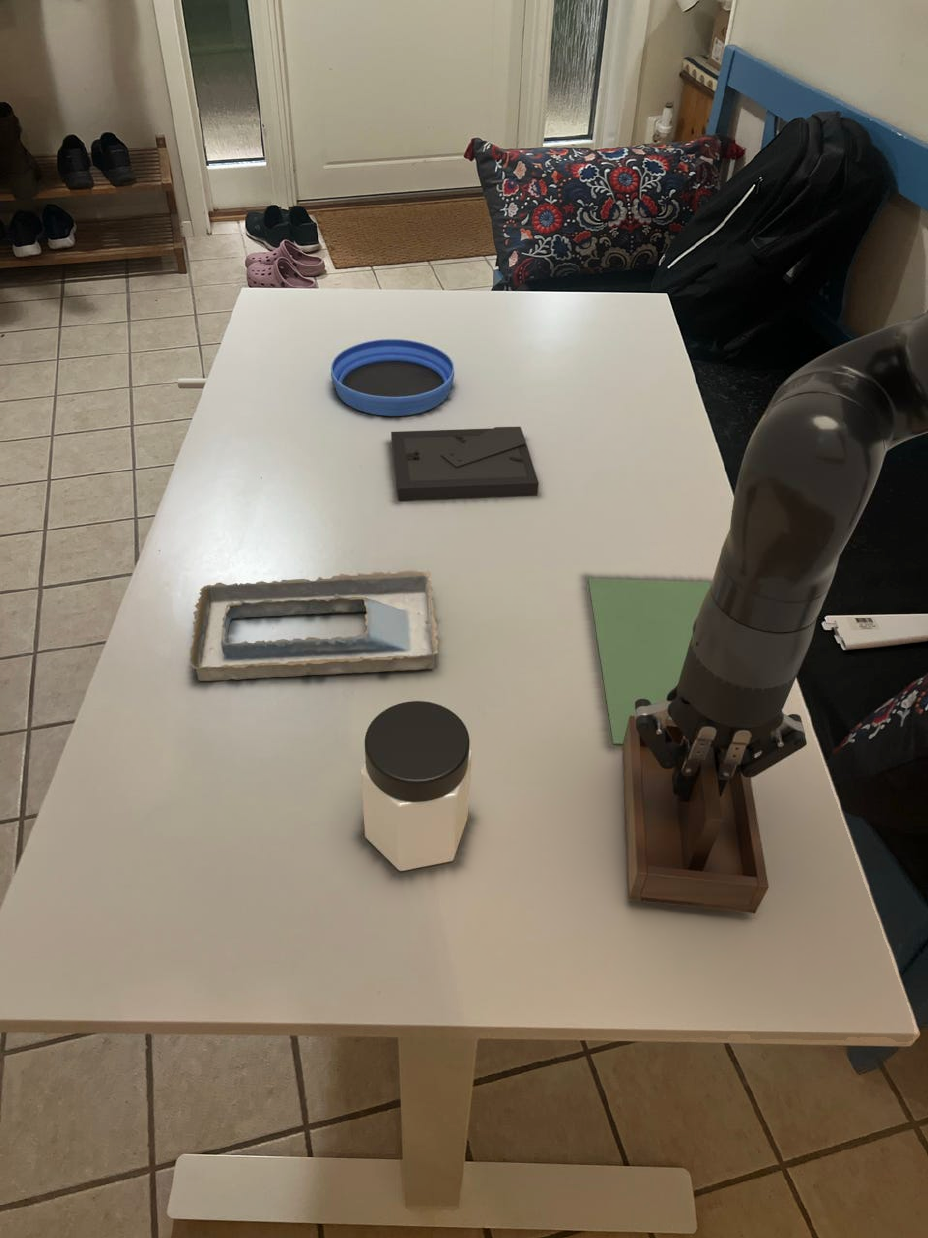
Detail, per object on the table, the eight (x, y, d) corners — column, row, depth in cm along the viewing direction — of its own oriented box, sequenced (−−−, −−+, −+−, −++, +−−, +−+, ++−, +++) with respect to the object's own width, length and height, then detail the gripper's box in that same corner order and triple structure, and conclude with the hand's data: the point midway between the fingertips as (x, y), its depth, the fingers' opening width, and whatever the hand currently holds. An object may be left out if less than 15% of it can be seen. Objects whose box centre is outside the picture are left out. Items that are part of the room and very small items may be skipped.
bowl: (460, 365, 138) (460, 343, 135) (446, 425, 125) (446, 402, 122) (345, 355, 139) (344, 333, 136) (319, 413, 126) (318, 391, 123)
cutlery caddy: (755, 914, 70) (787, 851, 64) (628, 900, 71) (648, 836, 64) (731, 754, 82) (756, 688, 76) (622, 743, 82) (639, 676, 76)
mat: (759, 748, 84) (760, 747, 84) (612, 744, 84) (613, 743, 84) (709, 583, 102) (710, 582, 102) (588, 579, 101) (588, 578, 101)
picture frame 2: (519, 439, 123) (391, 443, 121) (521, 425, 121) (391, 429, 119) (537, 495, 113) (398, 501, 111) (539, 480, 112) (398, 486, 110)
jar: (456, 781, 80) (460, 691, 72) (479, 858, 74) (487, 770, 66) (357, 798, 78) (351, 708, 70) (373, 879, 73) (368, 792, 64)
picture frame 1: (440, 675, 90) (441, 654, 88) (188, 689, 87) (182, 669, 85) (428, 588, 99) (429, 568, 97) (201, 599, 96) (196, 578, 94)
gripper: (651, 675, 59) (612, 823, 71) (858, 695, 58) (784, 842, 70) (645, 600, 65) (610, 750, 76) (835, 618, 64) (769, 766, 76)
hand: (694, 793), depth 73 cm, fingers closed on cutlery caddy, 1 cm apart
